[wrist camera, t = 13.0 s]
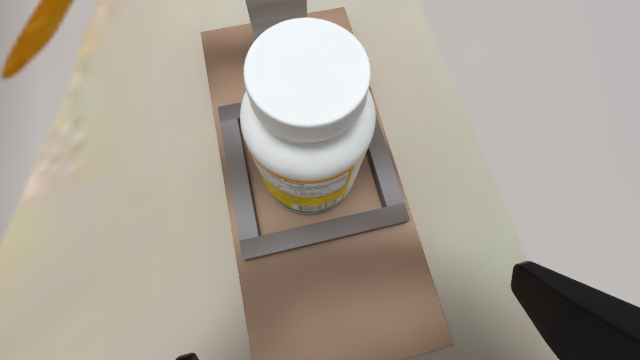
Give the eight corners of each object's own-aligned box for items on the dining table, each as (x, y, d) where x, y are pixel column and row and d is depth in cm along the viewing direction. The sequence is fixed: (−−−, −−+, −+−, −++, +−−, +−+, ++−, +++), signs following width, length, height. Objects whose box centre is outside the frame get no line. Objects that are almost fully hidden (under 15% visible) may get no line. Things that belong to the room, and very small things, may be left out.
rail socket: (445, 341, 18) (527, 378, 11) (261, 392, 17) (227, 465, 10) (343, 18, 24) (354, -85, 17) (205, 42, 23) (160, -56, 16)
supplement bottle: (316, 235, 18) (320, 186, 9) (244, 177, 19) (180, 79, 10) (373, 163, 19) (426, 58, 10) (303, 113, 20) (295, -26, 11)
